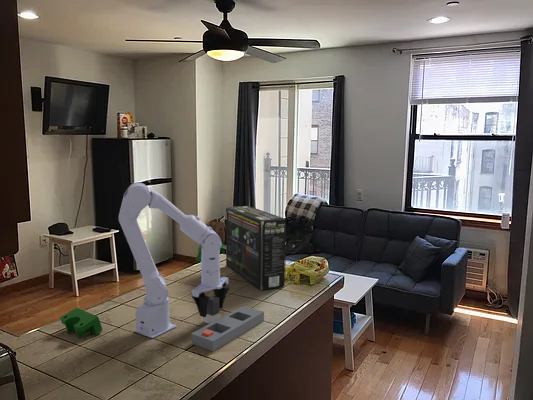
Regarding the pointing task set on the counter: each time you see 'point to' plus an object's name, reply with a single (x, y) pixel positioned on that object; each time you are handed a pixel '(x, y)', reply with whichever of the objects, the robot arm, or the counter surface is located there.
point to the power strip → (227, 328)
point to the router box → (256, 246)
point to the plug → (212, 310)
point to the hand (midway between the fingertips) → (211, 311)
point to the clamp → (81, 323)
